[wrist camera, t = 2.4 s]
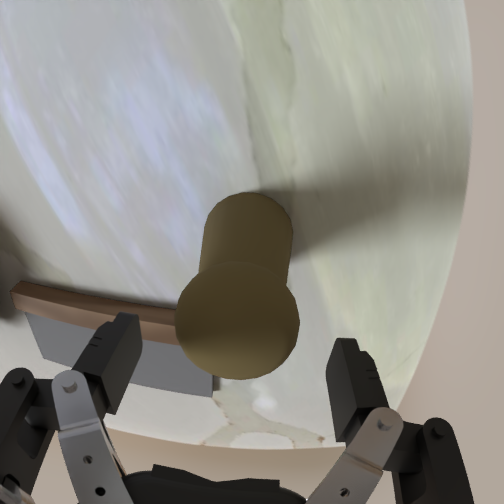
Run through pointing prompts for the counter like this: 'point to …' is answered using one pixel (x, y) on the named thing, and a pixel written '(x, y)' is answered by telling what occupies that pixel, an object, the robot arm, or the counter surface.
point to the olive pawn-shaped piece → (240, 291)
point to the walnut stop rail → (92, 310)
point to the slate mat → (147, 369)
